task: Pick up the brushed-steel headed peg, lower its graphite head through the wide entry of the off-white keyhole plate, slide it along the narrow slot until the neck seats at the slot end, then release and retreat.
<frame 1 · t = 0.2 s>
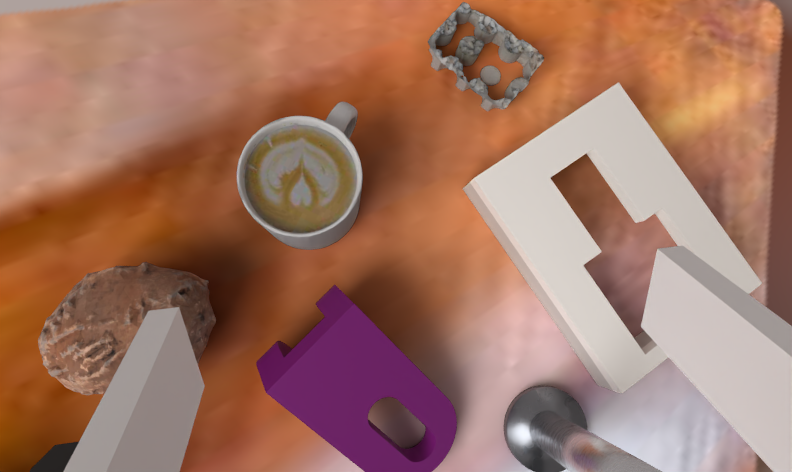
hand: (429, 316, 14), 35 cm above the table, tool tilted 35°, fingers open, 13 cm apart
decorative rock: (158, 327, 47), on the table
keyhole plate: (596, 237, 52), on the table
mounting bracket: (368, 388, 48), on the table
coffee mug: (320, 187, 50), on the table
headed peg: (543, 427, 49), on the table
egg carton: (476, 68, 53), on the table
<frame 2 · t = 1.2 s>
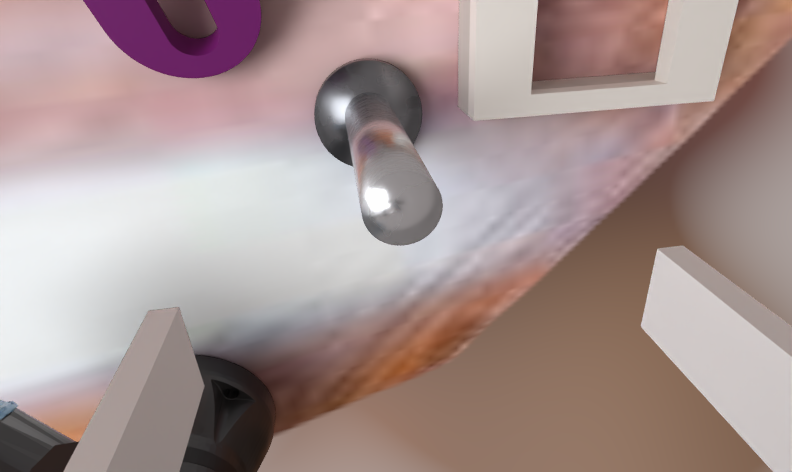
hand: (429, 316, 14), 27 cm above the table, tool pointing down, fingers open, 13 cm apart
headed peg: (367, 113, 38), on the table
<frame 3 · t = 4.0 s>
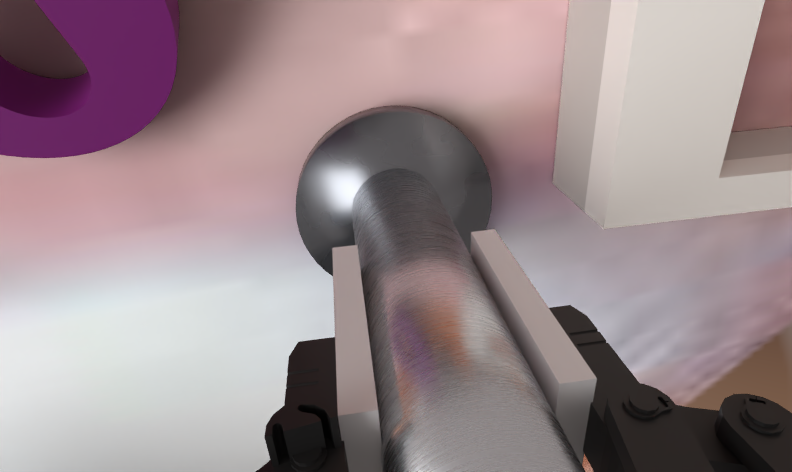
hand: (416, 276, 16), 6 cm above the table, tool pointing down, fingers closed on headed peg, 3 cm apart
headed peg: (393, 200, 21), on the table, touching gripper
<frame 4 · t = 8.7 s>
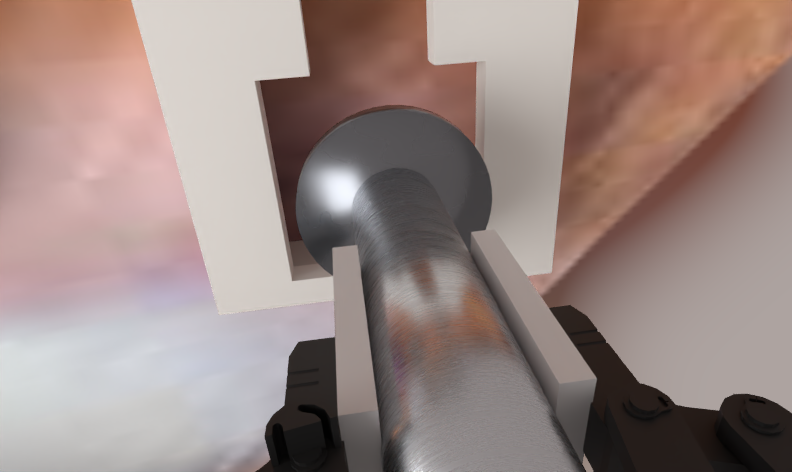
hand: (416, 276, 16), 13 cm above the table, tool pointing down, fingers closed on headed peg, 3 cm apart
keyhole plate: (363, 46, 25), on the table
headed peg: (393, 200, 21), point 7 cm above the table, touching gripper
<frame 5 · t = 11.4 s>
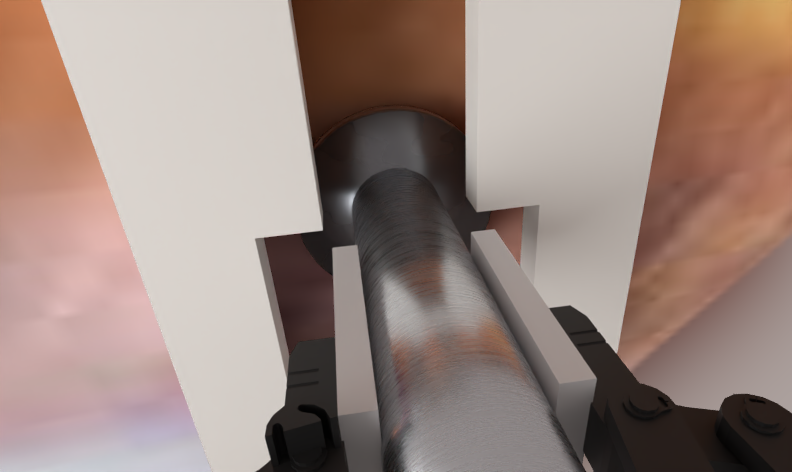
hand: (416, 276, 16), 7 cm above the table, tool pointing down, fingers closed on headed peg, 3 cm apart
keyhole plate: (385, 165, 21), on the table
headed peg: (393, 200, 21), point 1 cm above the table, touching gripper
when the fingers open (7 cm above the table, at t = 13.7 s): headed peg stays where it is, resting in keyhole plate.
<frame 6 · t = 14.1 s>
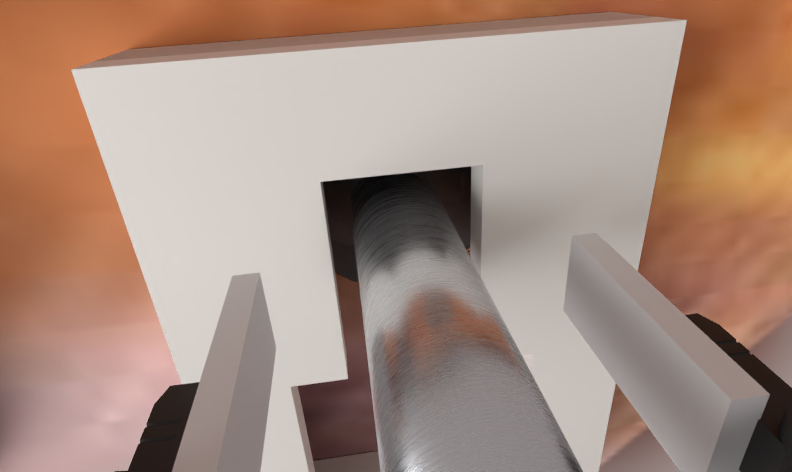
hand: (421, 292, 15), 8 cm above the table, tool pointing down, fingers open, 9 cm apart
keyhole plate: (398, 297, 24), on the table
headed peg: (390, 195, 21), resting in keyhole plate
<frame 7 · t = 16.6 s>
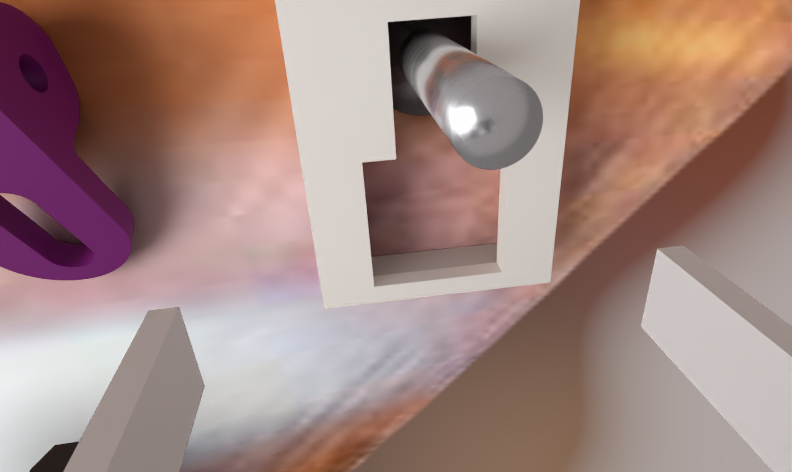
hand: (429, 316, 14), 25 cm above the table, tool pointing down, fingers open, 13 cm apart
keyhole plate: (424, 129, 37), on the table
mounting bracket: (43, 155, 35), on the table
headed peg: (421, 55, 35), resting in keyhole plate
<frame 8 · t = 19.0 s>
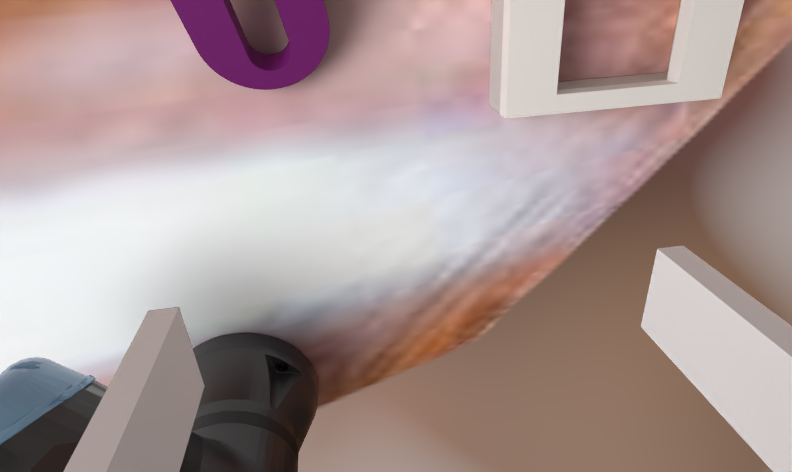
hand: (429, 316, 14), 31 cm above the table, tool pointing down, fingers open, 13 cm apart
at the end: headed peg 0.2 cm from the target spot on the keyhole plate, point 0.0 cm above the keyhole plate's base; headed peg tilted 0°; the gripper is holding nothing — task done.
